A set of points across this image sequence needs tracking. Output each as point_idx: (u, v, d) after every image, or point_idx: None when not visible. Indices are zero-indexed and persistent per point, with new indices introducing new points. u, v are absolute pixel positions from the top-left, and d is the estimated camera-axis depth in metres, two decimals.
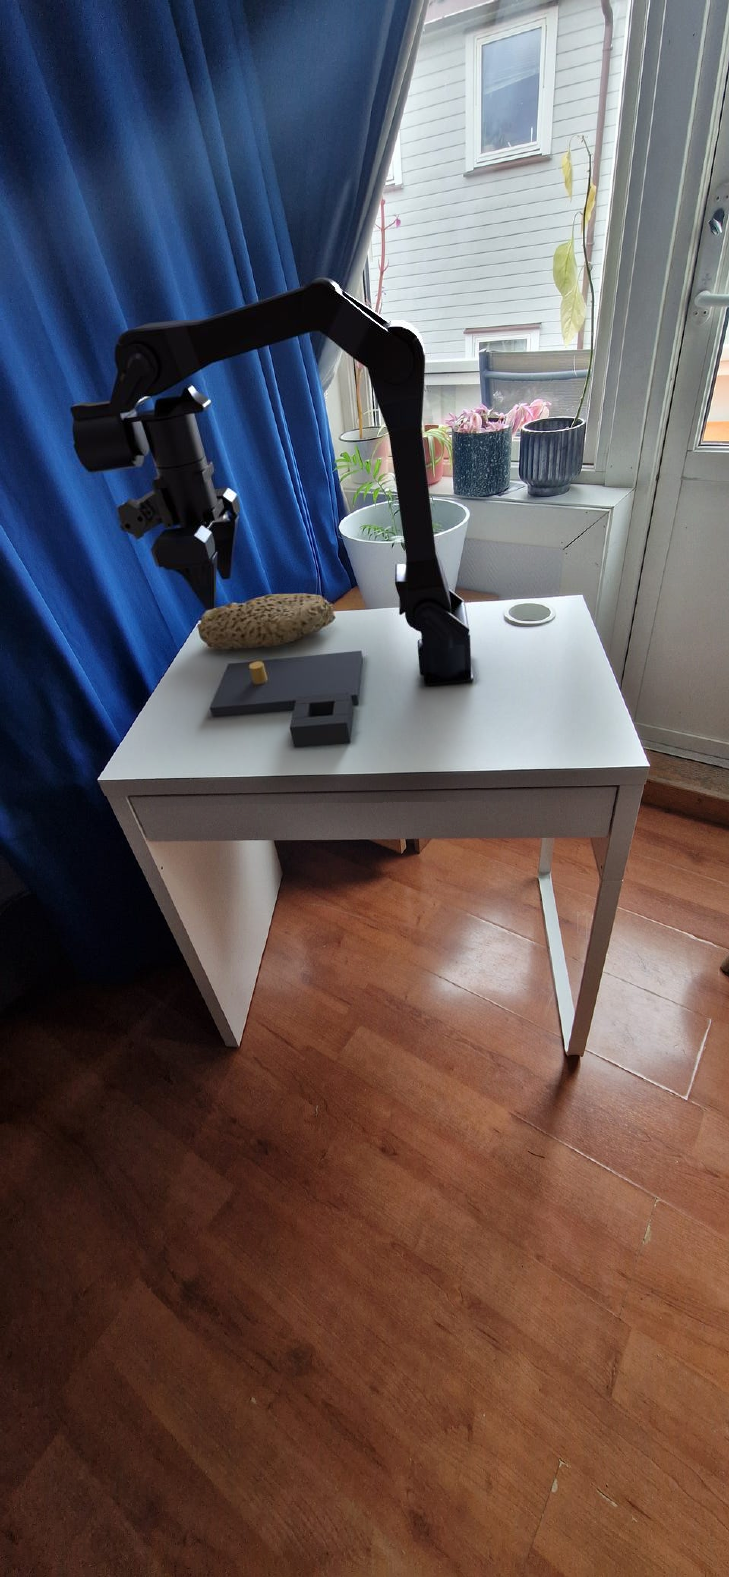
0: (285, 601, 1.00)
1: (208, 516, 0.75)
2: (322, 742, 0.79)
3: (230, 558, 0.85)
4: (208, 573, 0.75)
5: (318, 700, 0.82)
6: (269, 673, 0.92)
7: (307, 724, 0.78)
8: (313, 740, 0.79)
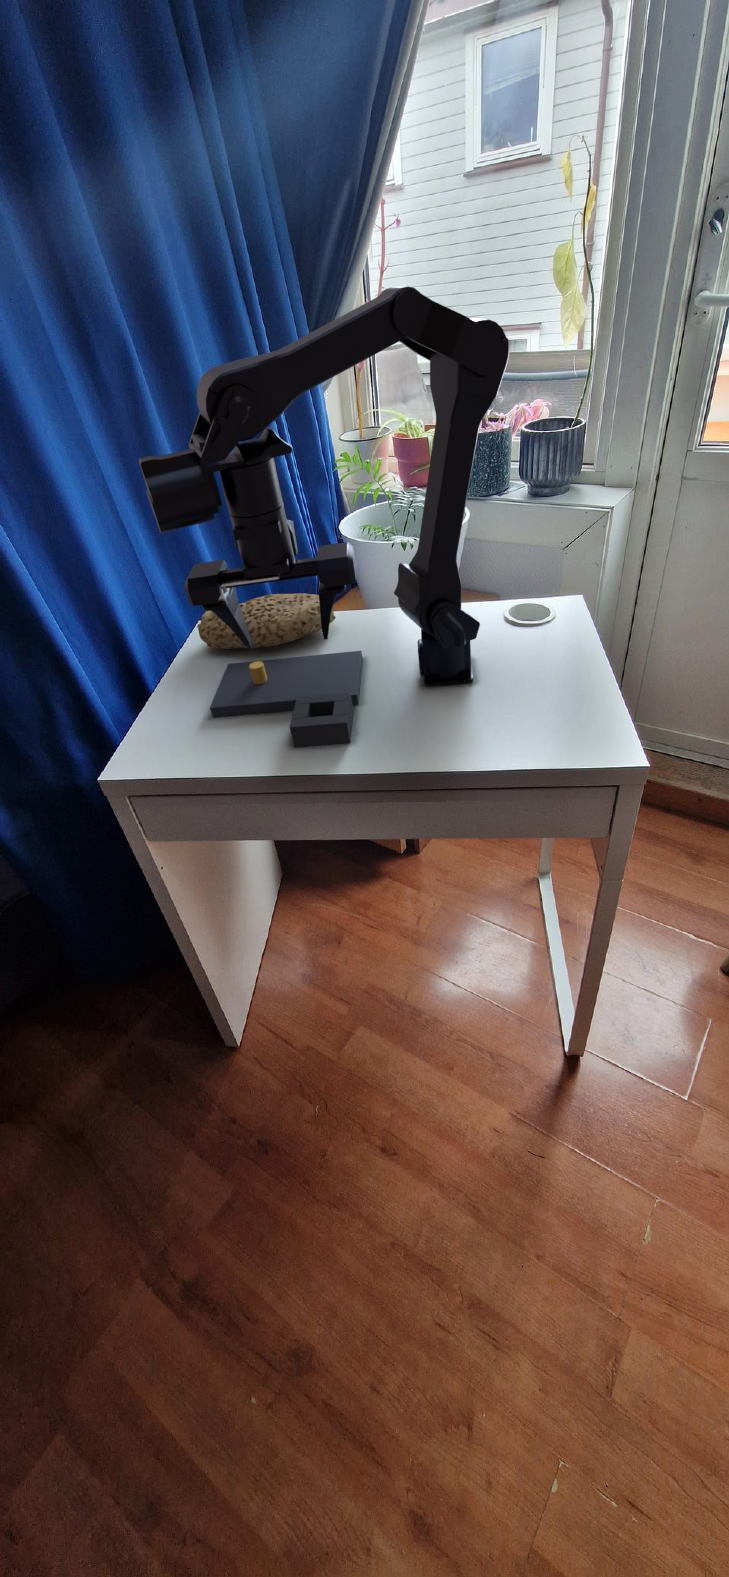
0: (285, 601, 1.00)
1: None
2: (322, 742, 0.79)
3: (321, 622, 0.75)
4: None
5: (318, 700, 0.82)
6: (269, 673, 0.92)
7: (307, 724, 0.78)
8: (313, 740, 0.79)
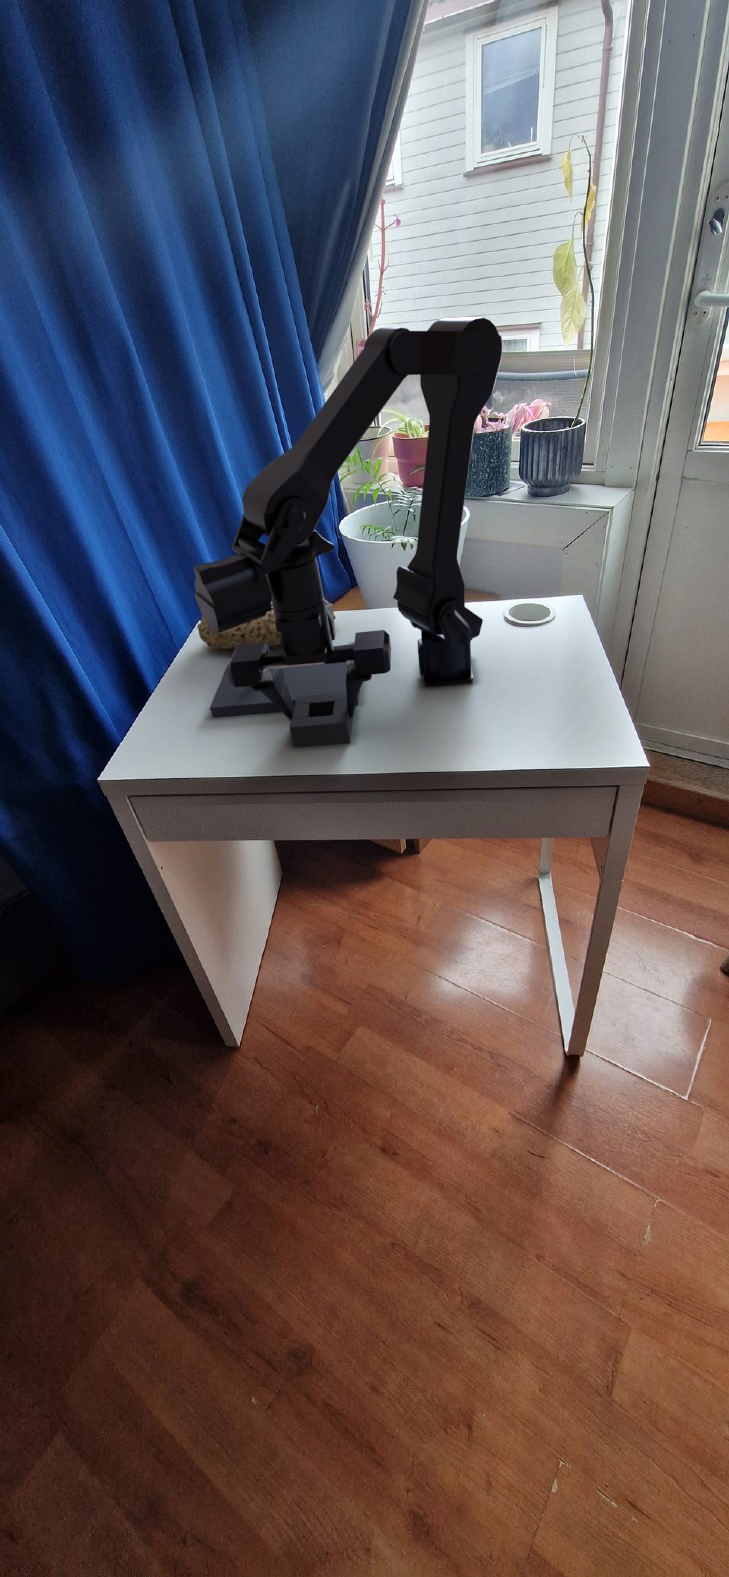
0: None
1: None
2: (322, 742, 0.79)
3: (347, 704, 0.78)
4: None
5: (318, 700, 0.82)
6: None
7: (307, 724, 0.78)
8: (313, 740, 0.79)
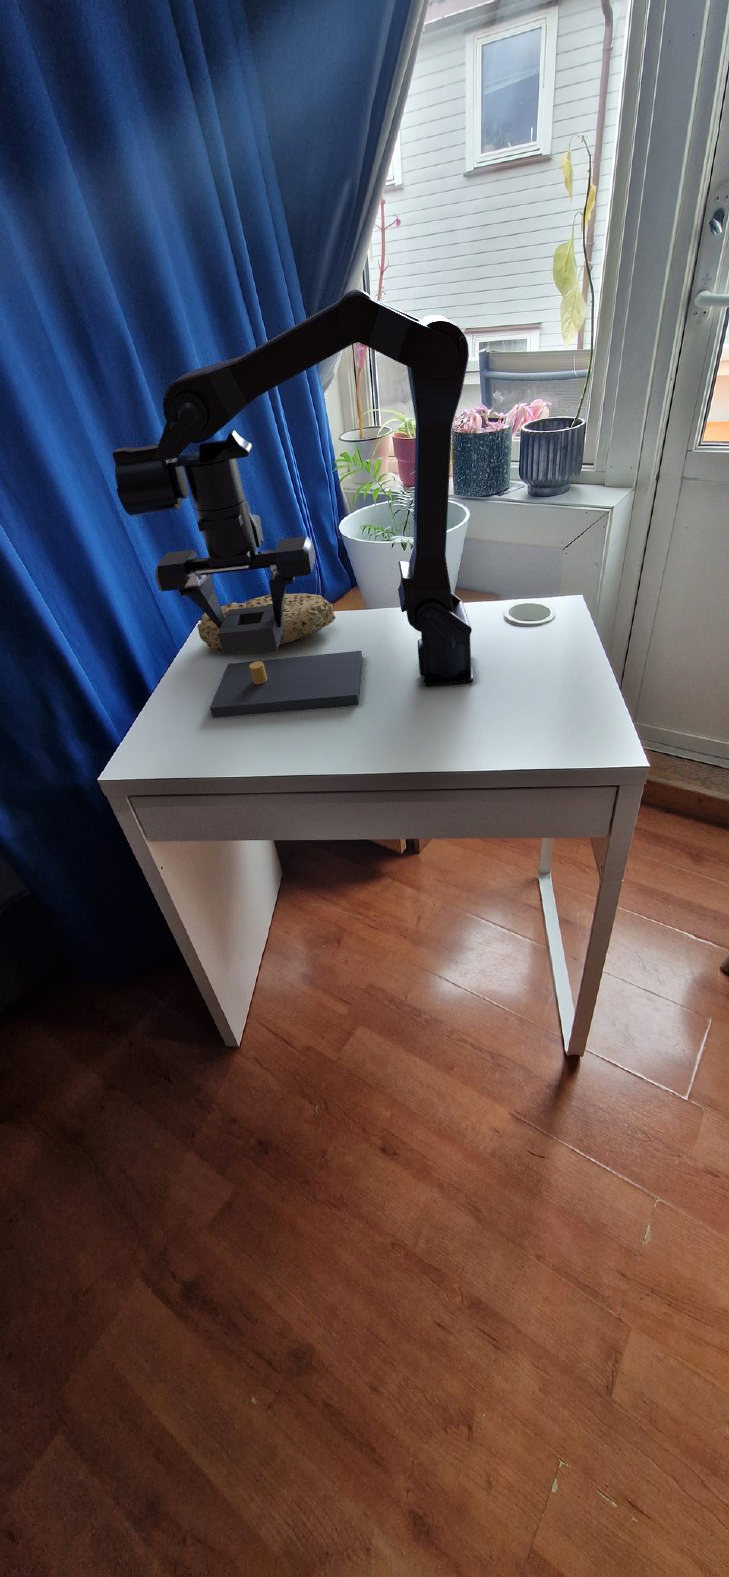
0: (285, 601, 1.00)
1: None
2: (251, 649, 0.82)
3: None
4: None
5: (248, 612, 0.85)
6: (269, 673, 0.92)
7: (235, 631, 0.81)
8: (241, 647, 0.82)
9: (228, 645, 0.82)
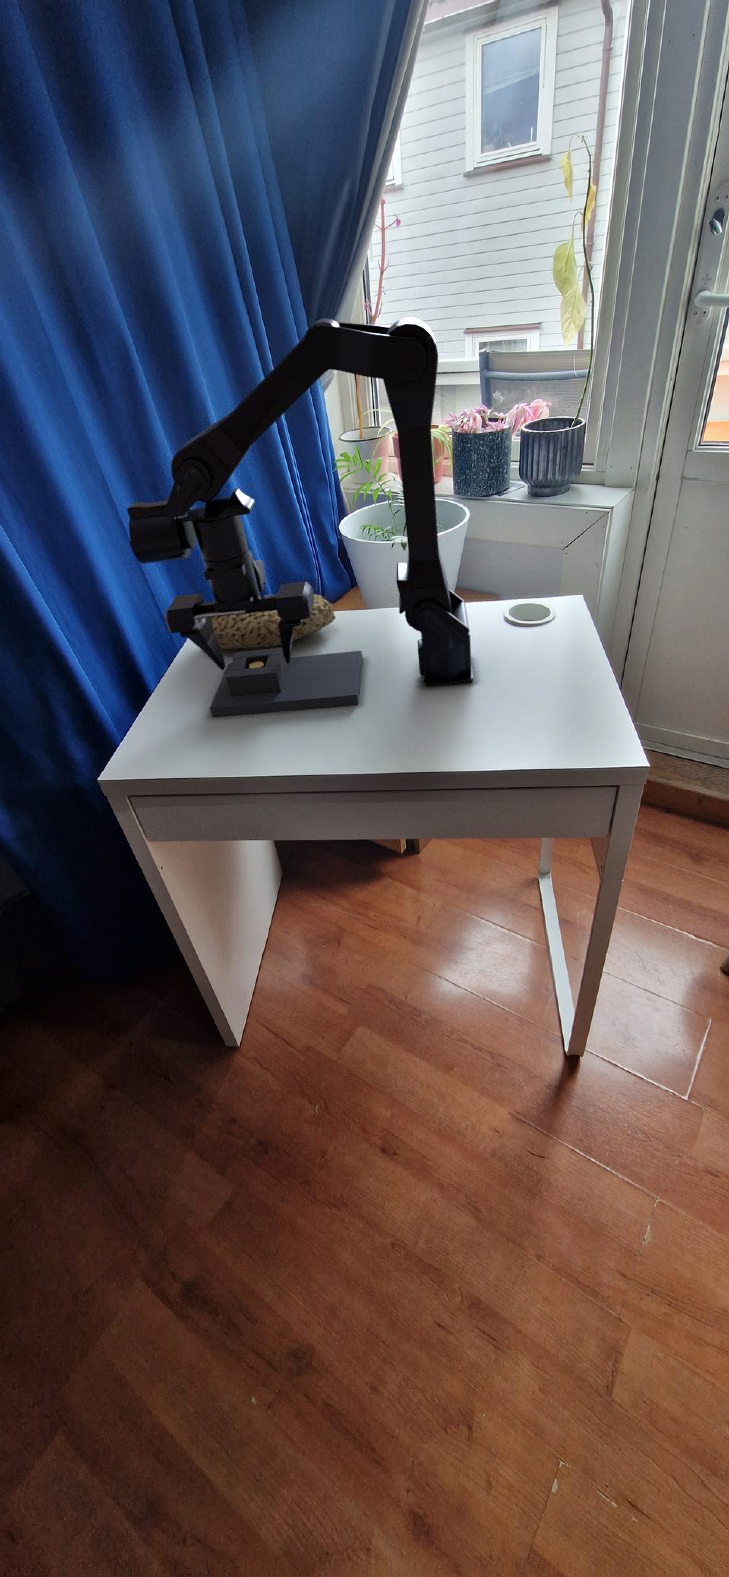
0: None
1: None
2: (256, 691, 0.88)
3: None
4: None
5: (254, 655, 0.91)
6: None
7: (241, 674, 0.87)
8: (247, 689, 0.88)
9: (235, 687, 0.88)
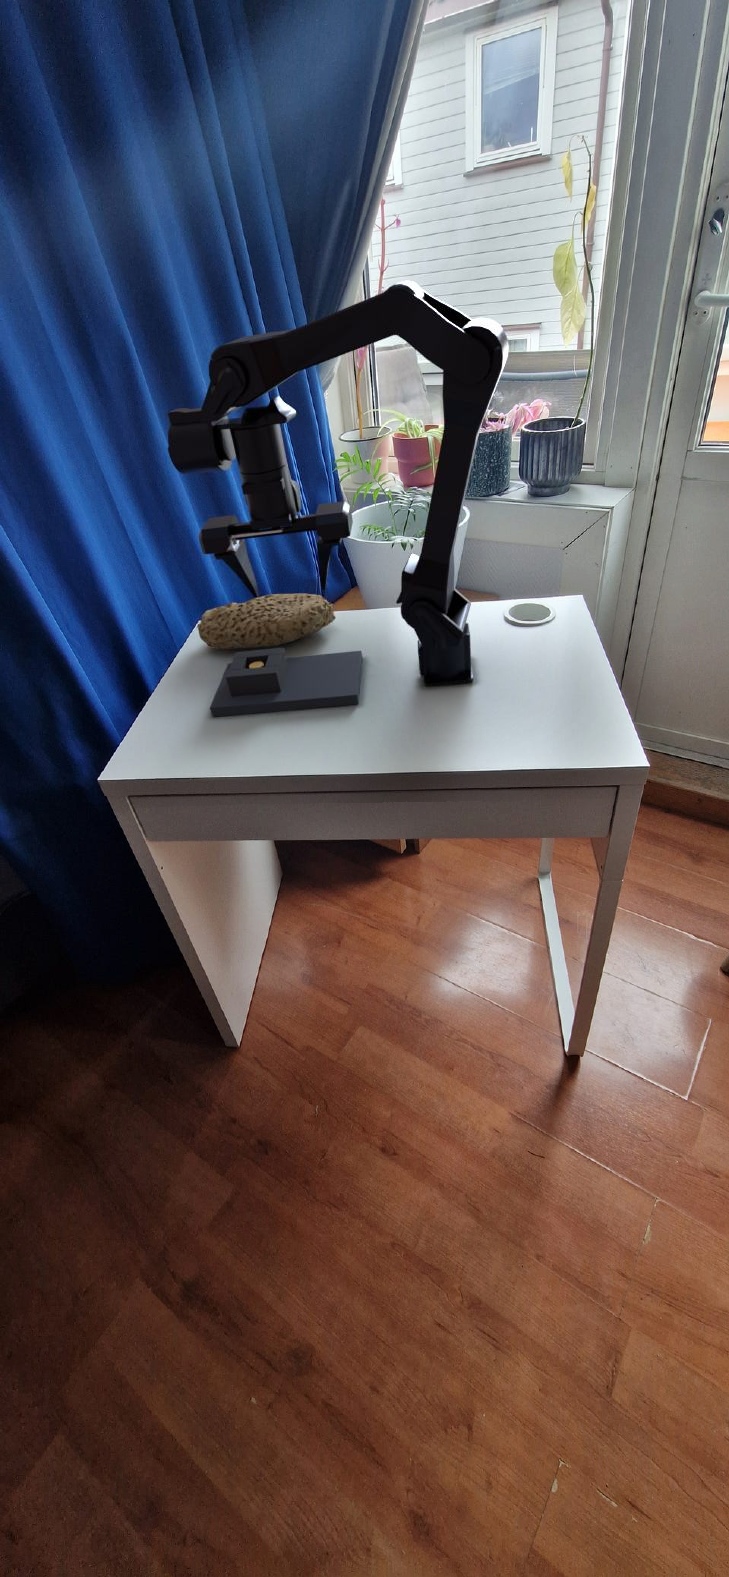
0: (285, 601, 1.00)
1: None
2: (256, 691, 0.88)
3: (319, 574, 0.83)
4: None
5: (254, 655, 0.91)
6: None
7: (241, 674, 0.87)
8: (247, 689, 0.88)
9: (235, 687, 0.88)
